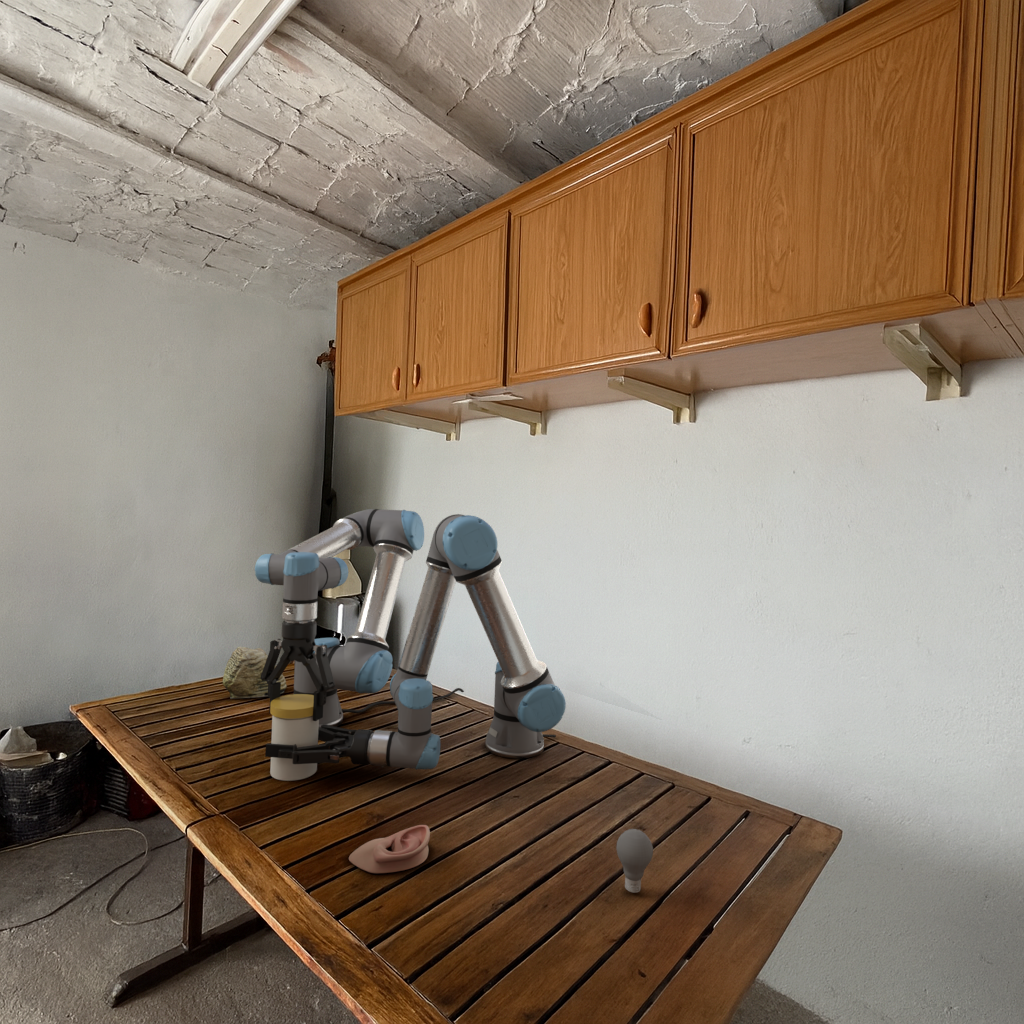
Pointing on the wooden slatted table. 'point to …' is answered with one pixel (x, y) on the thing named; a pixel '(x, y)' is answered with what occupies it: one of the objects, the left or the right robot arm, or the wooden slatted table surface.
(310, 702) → the lid
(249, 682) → the fossil
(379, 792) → the wooden slatted table surface
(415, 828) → the anatomical model
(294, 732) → the jar
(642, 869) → the light bulb
